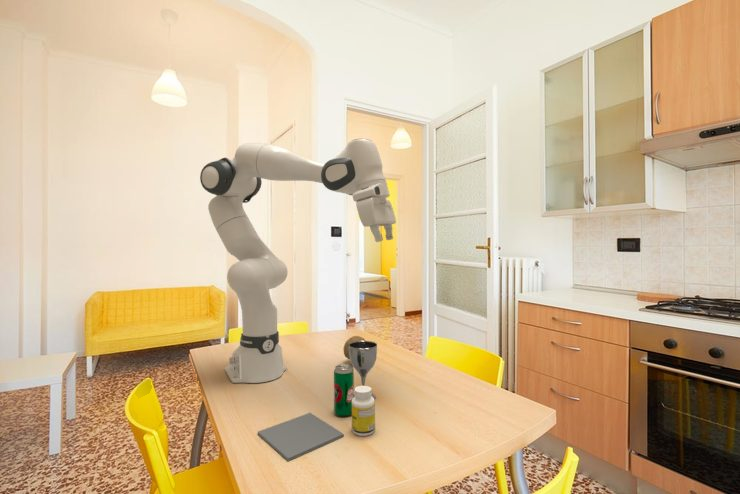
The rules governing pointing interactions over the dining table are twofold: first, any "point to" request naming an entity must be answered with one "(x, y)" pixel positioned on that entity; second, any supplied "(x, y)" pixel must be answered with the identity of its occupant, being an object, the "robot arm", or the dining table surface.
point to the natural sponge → (346, 346)
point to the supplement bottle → (363, 411)
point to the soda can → (343, 390)
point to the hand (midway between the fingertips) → (385, 240)
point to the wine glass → (363, 358)
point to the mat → (299, 436)
